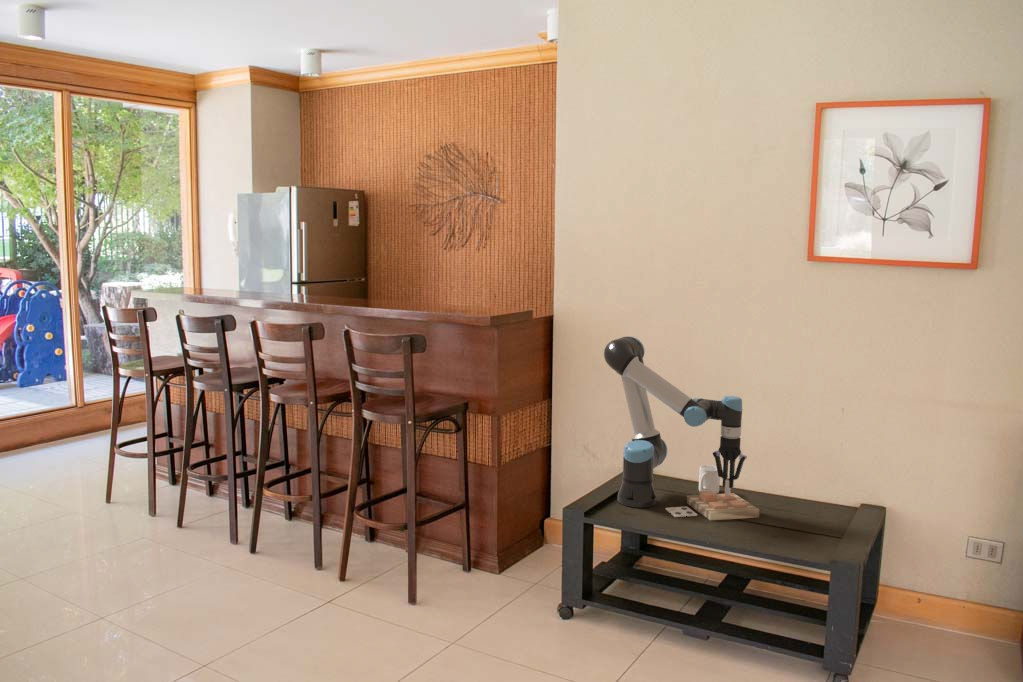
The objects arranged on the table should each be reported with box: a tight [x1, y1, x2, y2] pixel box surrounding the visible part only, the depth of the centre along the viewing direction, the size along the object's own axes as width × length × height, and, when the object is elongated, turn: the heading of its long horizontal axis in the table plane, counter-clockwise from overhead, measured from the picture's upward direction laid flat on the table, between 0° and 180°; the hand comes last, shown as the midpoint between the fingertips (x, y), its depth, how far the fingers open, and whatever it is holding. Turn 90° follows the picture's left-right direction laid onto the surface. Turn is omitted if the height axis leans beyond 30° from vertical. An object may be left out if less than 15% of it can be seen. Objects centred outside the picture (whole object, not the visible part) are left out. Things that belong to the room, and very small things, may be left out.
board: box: [686, 492, 760, 521], centre depth 317 cm, size 20×20×3 cm
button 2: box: [709, 501, 727, 509], centre depth 312 cm, size 5×5×4 cm
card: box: [664, 506, 698, 518], centre depth 313 cm, size 9×9×1 cm
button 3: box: [718, 493, 736, 501], centre depth 321 cm, size 5×5×4 cm
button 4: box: [728, 500, 746, 508], centre depth 314 cm, size 5×5×4 cm
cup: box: [698, 464, 721, 494], centre depth 337 cm, size 8×12×10 cm
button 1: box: [698, 491, 717, 502], centre depth 319 cm, size 5×5×4 cm
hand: (727, 495), depth 321 cm, fingers closed
